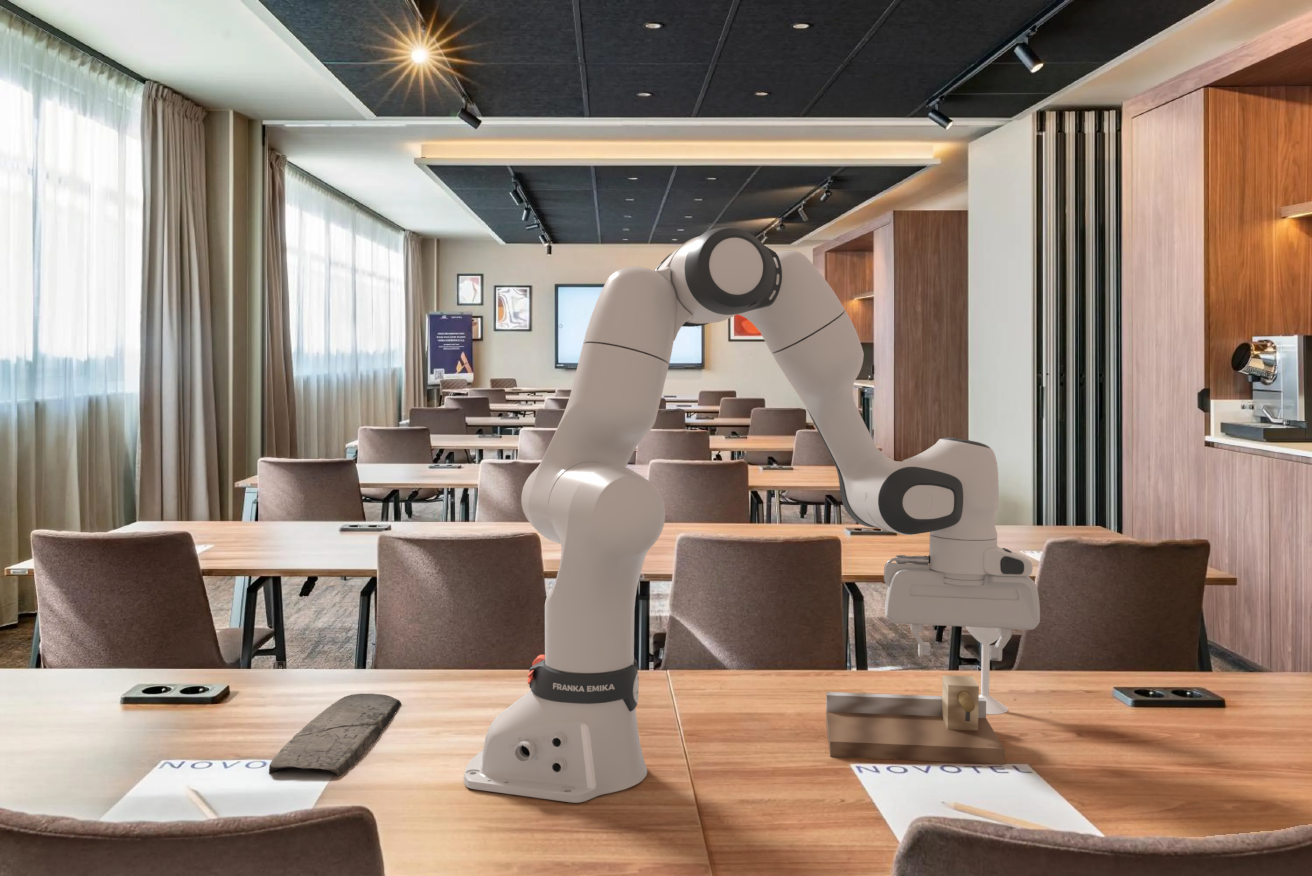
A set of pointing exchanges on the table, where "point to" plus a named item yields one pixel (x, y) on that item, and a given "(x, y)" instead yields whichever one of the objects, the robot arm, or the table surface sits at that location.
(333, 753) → the stone slab
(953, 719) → the marking gauge
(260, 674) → the table surface
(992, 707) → the champagne flute
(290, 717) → the table surface
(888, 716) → the walnut board
